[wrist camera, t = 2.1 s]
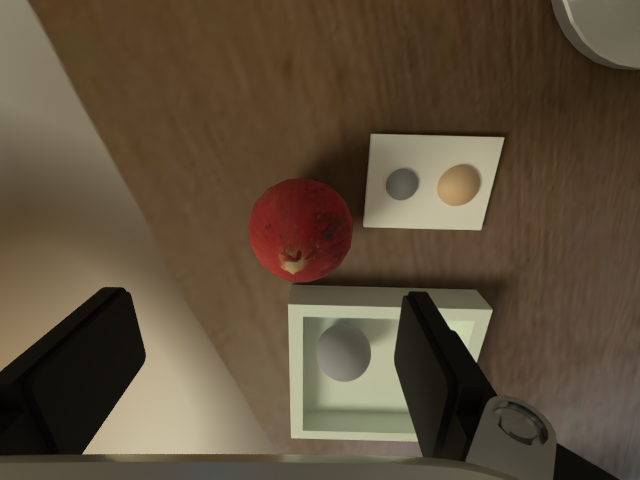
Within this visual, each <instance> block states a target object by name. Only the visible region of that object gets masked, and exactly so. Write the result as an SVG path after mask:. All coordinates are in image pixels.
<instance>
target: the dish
mask: <svg viewBox="0 0 640 480" xmlns="http://www.w3.org/2000/svg"><path fill="white" fill-rule="evenodd" d="M410 291H426V292H427V293H428V294H429V296H430V297H431V299H432V300H433V302H434V304H435V305H436V307H437V308H438V310H439V312H440V313H441V315H442V316H443V318H444V320H445V321H446V323H447V324H448V326H449V328H450V329H451V330H454V331H456V332H457V334H458V335H459V336H460V338H461V340H462V341H463V343H464V344H465V346H466V347H467V349H468V350H469V352H470V354H471V355H472V357H473V358H474V360H475V361H476V363H477V360H478V357H479V353H480V350H481V347H482V344H483V340H484V337H485V334H486V331H487V327H488V324H489V321H490V317H491V314H492V311H493V309H492V308H491V307H490V306H489V305H488V303H487V302H486V301H485V300H484V299H483V297H482V296H481V295H480V294H479V292H478V291H477V290H470V289H432V288H395V287H357V286H319V285H292V286H291V292H290V297H289V303H288V316H289V362H290V407H291V438H309V439H346V440H383V441H418V439H417V436H416V433H415V429H414V426H413V423H412V420H411V417H410V413H409V410H408V407H407V404H406V401H405V397H404V394H403V391H402V388H401V384H400V381H399V378H398V375H397V372H396V368H395V365H394V352H395V345H396V339H397V332H398V325H399V319H400V312H401V305H402V299H403V296H404V295H408V293H409V292H410ZM336 324H350V325H353V326H355V327H357V328H358V329H360V330H361V331H362V332H363V333H364V334H365V336H366V337H367V339H368V341H369V344H370V347H371V360H370V363H369V366H368V368H367V370H366V371H365V372H364V373H363V374H362V375H361V376H360V377H359V378H357V379H355V380H353V381H349V382H340V381H336V380H334V379H332V378H330V377H328V376H327V375H326V374H325V373H324V372H323V371H322V369H321V367H320V366H319V363H318V360H317V354H316V349H317V344H318V341H319V339H320V337H321V335H322V334H323V333H324V332H325V331H326V330H327V329H328V328H330V327H331V326H333V325H336Z"/></svg>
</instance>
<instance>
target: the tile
mask: <svg viewBox="0 0 640 480" xmlns="http://www.w3.org/2000/svg"><path fill="white" fill-rule="evenodd" d="M503 142H504V137H481V136H443V135H405V134H371V136H370V148H369V160H368V171H367V183H366V194H365V206H364V218H363V227H380V228H418V229H456V230H481V228H482V224H483V221H484V217H485V213H486V209H487V205H488V201H489V197H490V193H491V189H492V185H493V181H494V177H495V173H496V169H497V166H498V162H499V158H500V154H501V150H502V146H503Z"/></svg>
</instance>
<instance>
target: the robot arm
mask: <svg viewBox="0 0 640 480" xmlns="http://www.w3.org/2000/svg"><path fill="white" fill-rule="evenodd" d="M551 3H552V7H553V11H554V15H555V17H556V19H557V21H558V23H559V25H560V27H561V29H562V31H563V33H564V35H565V36H566V38H567V39H568V40H569V41H570V42H571V43H572V45H573V46H574V47H575V48H576V49H577V50H578V51H579V52H580V53H582V54H583V55H585V56H586V57H588V58H589V59H591V60H592V61H594V62H596V63H599V64H602V65H604V66H607V67H610V68H613V69H624V70H640V0H551ZM145 358H146V354H145V349H144V345H143V341H142V337H141V333H140V329H139V325H138V321H137V317H136V313H135V309H134V305H133V301H132V297H131V294H130V293H129V292H126V290H125V289H124V288H122V287H104V288H102V289H100V290H99V291H98V292H97V293H96V294H94V295H93V296H92V297H90V298H89V299H88V300H87V301H86V302H84V303H83V304H82V305H81V306H80V307H78V308H77V309H76V310H75V311H73V312H72V313H71V314H70V315H69V316H67V317H66V318H65V319H64V320H62V321H61V322H60V323H59V324H58V325H56V326H55V327H54V328H53V329H52V330H50V331H49V332H48V333H47V334H46V335H44V336H43V337H42V338H41V339H39V340H38V341H37V342H36V343H35V344H34V345H32V346H31V347H30V348H28V349H27V350H26V351H25V352H24V353H22V354H21V355H20V356H19V357H17V358H16V359H15V360H14V361H13V362H12V363H10V364H9V365H8V366H6V367H5V368H4V369H3V370H2V371H0V480H619V479H618V478H616V477H614V476H613V475H611V474H609V473H607V472H606V471H604V470H602V469H601V468H599V467H597V466H595V465H594V464H592V463H590V462H589V461H587V460H585V459H583V458H582V457H580V456H578V455H577V454H575V453H573V452H571V451H570V450H568V449H566V448H565V447H563V446H561V445H560V444H558V443H557V439H556V433H555V431H554V429H553V427H552V425H551V423H550V422H549V421H548V420H547V419H546V417H545V416H544V415H543V414H542V413H540V412H539V411H538V410H537V409H536V408H534V407H533V406H531V405H529V404H528V403H526V402H524V401H522V400H519V399H517V398H514V397H509V396H497V394H496V392H495V391H494V389H493V388H492V386H491V385H490V383H489V382H488V380H487V378H486V377H485V375H484V374H483V372H482V371H481V369H480V368H479V366H478V364H477V363H476V361H475V360H474V358H473V357H472V355H471V354H470V352H469V350H468V349H467V347H466V346H465V344H464V343H463V341H462V340H461V338H460V336H459V335H458V334H457V332H456V331H454V330H451V329H450V328H449V326H448V324H447V323H446V321H445V320H444V318H443V316H442V315H441V313H440V312H439V310H438V308H437V307H436V305H435V304H434V302H433V300H432V299H431V297H430V296H429V294H428V293H427V292H426V291H410V292H409V293H408V295H404V296H403V299H402V305H401V312H400V319H399V325H398V332H397V339H396V345H395V352H394V365H395V368H396V372H397V375H398V378H399V381H400V384H401V388H402V391H403V394H404V397H405V401H406V404H407V407H408V410H409V413H410V417H411V420H412V423H413V426H414V429H415V433H416V436H417V439H418V442H419V445H420V449H421V452H422V455H423V457H407V456H369V455H269V454H266V455H264V454H259V455H258V454H257V455H256V454H254V455H253V454H250V455H249V454H109V455H108V454H106V455H105V454H97V455H96V454H95V455H93V454H91V455H88V454H87V455H82V453H83V452H84V450H85V449H86V447H87V446H88V444H89V443H90V442H91V440H92V439H93V437H94V436H95V434H96V433H97V431H98V430H99V428H100V427H101V426H102V424H103V422H104V421H105V420H106V418H107V417H108V415H109V414H110V412H111V411H112V409H113V408H114V406H115V405H116V403H117V402H118V401H119V399H120V398H121V396H122V395H123V393H124V392H125V390H126V389H127V388H128V386H129V385H130V383H131V382H132V380H133V379H134V377H135V376H136V374H137V373H138V371H139V370H140V368H141V367H142V365H143V364H144V362H145Z"/></svg>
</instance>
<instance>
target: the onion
mask: <svg viewBox="0 0 640 480" xmlns="http://www.w3.org/2000/svg"><path fill="white" fill-rule="evenodd" d="M248 229H249V236H250V244H251V247H252V249H253V251H254V252H255V254H256V256H257V258H258V260H259V262H260V263H261V264H262V265H263V266H264V267H265V268H267V269H268V270H269V271H270V272H272V273H273V274H274V275H275V276H278V277H280V278H283V279H285V280H288V281H290V282H311V281H314V280H317V279H320V278H323V277H325V276H327V275H328V274H329V273H331V272H332V271H333V270H334V269H336V268H337V267H338V266H339V265H340V264H341V263H342V261H343V259H344V258H345V256H346V254H347V252H348V251H349V249H350V247H351V239H352V230H353V219H352V217H351V214H350V211H349V209H348V206H347V203H346V201H345V200H344V199H343V198H342V197H341V196H340V195H339V194H338V193H337V192H336V191H335V190H334V189H332V188H331V187H330V186H329V185H328V184H324V183H321V182H318V181H315V180H312V179H309V178H307V179H287V180H285V181H283V182H281V183H279V184H277V185H275V186H273V187H271V188H269V189H268V190H267V191H266V192H265V193H264V194H263V195H262V196H261V197H260V198H259V199H258V200H257V201H256V202H255V205H254V207H253V211H252V214H251V217H250V220H249V224H248Z"/></svg>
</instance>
